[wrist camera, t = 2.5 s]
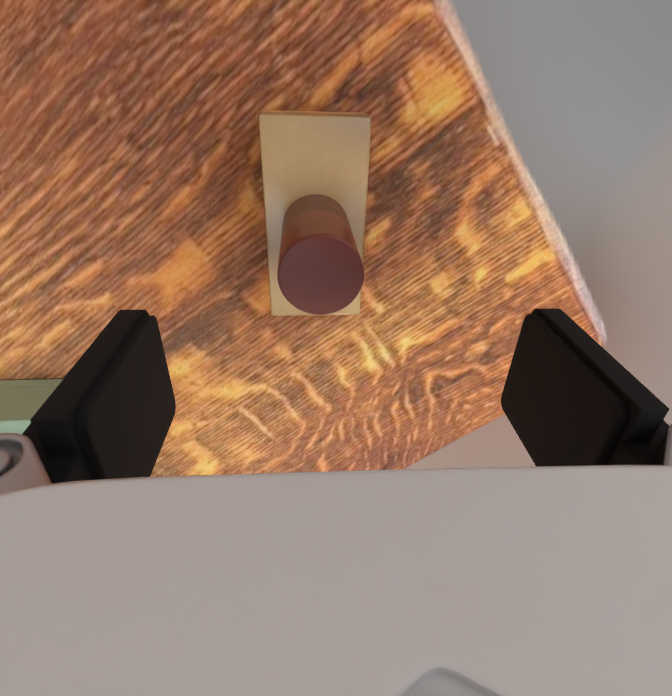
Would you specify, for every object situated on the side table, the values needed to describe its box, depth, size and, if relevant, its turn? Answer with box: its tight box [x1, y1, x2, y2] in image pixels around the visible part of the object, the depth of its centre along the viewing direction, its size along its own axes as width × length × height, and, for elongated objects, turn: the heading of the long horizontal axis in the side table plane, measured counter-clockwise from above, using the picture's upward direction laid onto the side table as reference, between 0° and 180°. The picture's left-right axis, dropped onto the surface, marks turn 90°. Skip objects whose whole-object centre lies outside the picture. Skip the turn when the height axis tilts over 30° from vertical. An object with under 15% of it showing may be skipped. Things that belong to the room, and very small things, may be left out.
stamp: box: [258, 110, 372, 316], centre depth 18 cm, size 9×4×9 cm, turn 179°
